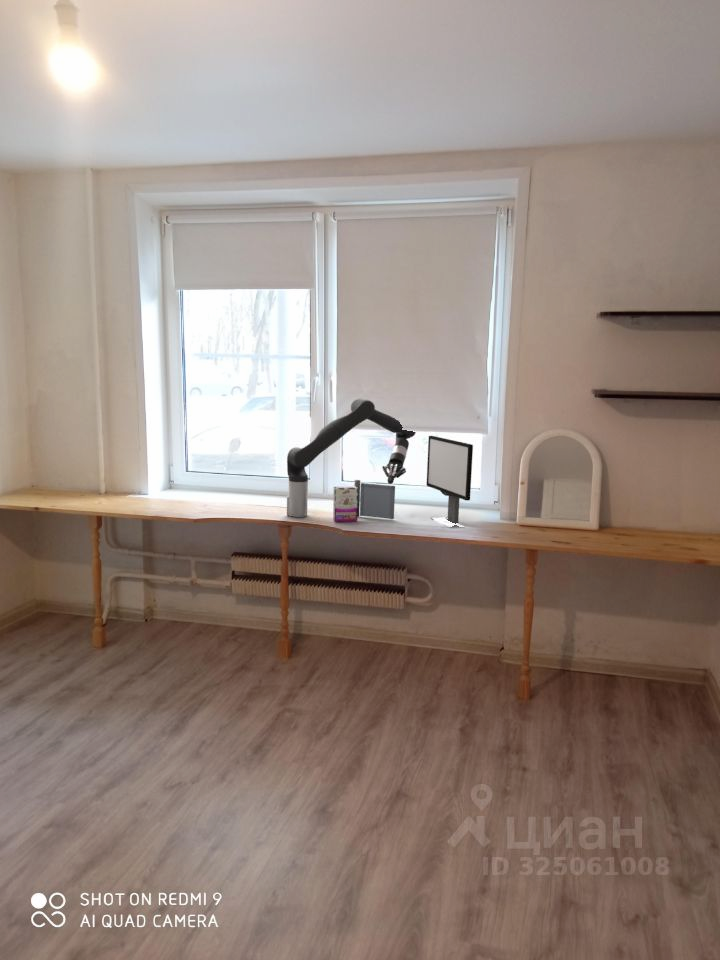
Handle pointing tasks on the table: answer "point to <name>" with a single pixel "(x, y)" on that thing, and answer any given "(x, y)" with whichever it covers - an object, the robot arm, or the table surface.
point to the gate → (377, 500)
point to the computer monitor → (450, 471)
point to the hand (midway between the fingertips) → (389, 482)
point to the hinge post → (357, 484)
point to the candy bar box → (345, 504)
